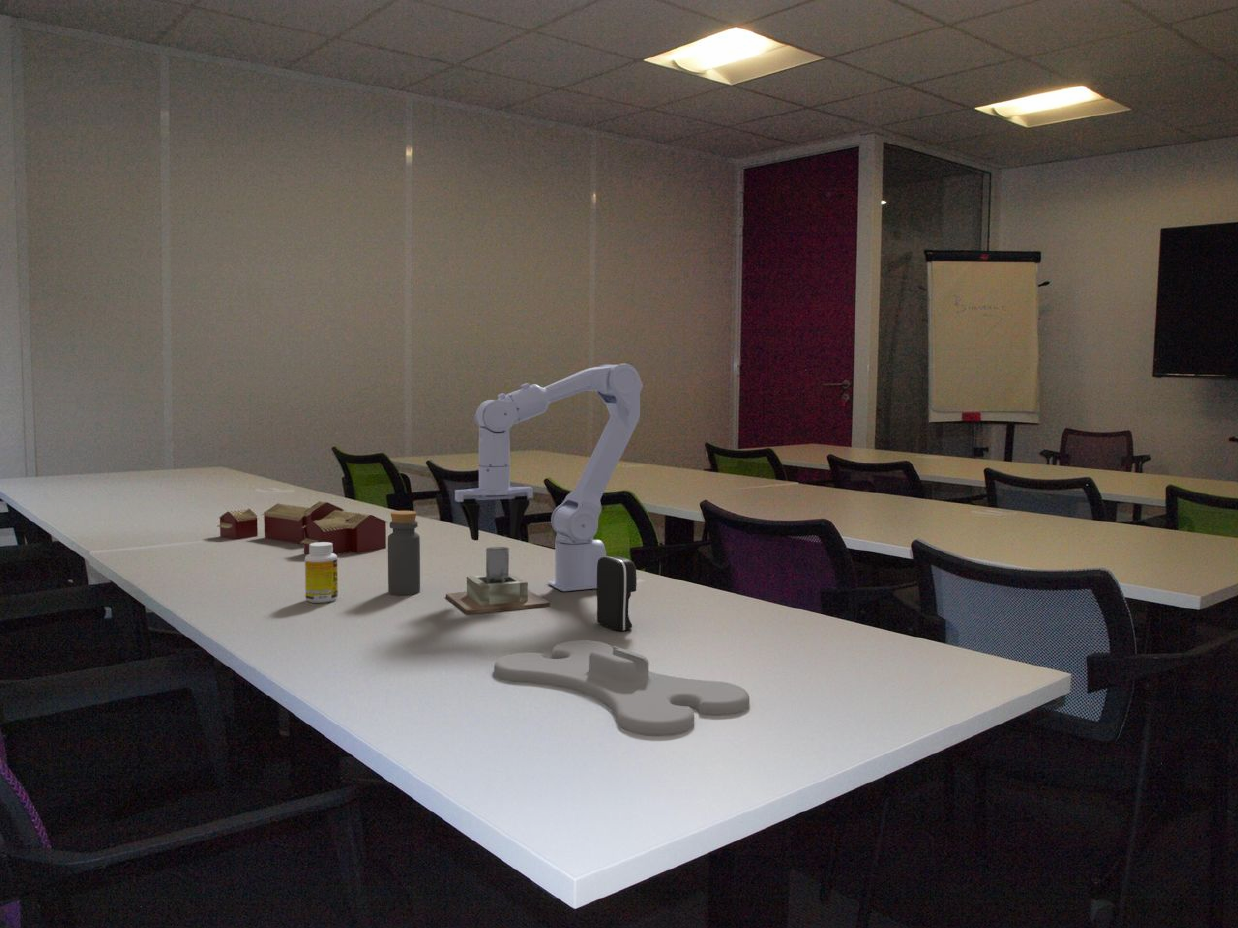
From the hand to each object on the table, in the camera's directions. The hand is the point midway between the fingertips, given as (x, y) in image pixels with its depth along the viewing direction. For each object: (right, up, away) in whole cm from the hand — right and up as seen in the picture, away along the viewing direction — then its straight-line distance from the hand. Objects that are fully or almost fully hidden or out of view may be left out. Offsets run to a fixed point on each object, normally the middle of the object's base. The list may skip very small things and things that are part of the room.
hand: (494, 538), depth 176 cm
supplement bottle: (-30, -11, -6) cm, 33 cm away
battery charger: (+23, -13, -22) cm, 34 cm away
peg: (+1, -10, -6) cm, 12 cm away
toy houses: (-54, -6, +53) cm, 76 cm away
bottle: (-17, -10, +1) cm, 20 cm away
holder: (+23, -16, -52) cm, 59 cm away
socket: (+1, -11, -6) cm, 12 cm away
